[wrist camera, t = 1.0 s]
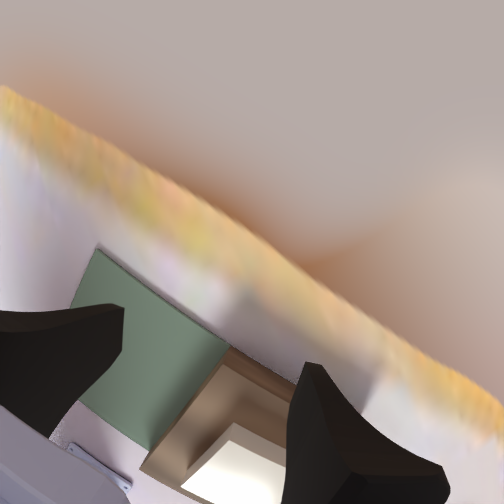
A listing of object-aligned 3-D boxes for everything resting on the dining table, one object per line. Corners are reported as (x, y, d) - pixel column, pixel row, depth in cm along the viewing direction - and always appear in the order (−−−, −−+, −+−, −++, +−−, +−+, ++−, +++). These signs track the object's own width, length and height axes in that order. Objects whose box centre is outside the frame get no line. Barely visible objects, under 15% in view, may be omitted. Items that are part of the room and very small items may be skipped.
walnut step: (259, 504, 23) (256, 526, 20) (150, 449, 24) (138, 469, 21) (359, 419, 21) (366, 442, 18) (230, 345, 21) (222, 363, 18)
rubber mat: (150, 449, 24) (149, 451, 23) (48, 370, 24) (47, 372, 23) (230, 345, 21) (229, 346, 21) (98, 248, 22) (95, 249, 21)
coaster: (260, 504, 20) (258, 521, 18) (186, 470, 20) (180, 486, 18) (314, 462, 19) (316, 480, 17) (233, 422, 19) (229, 439, 17)
